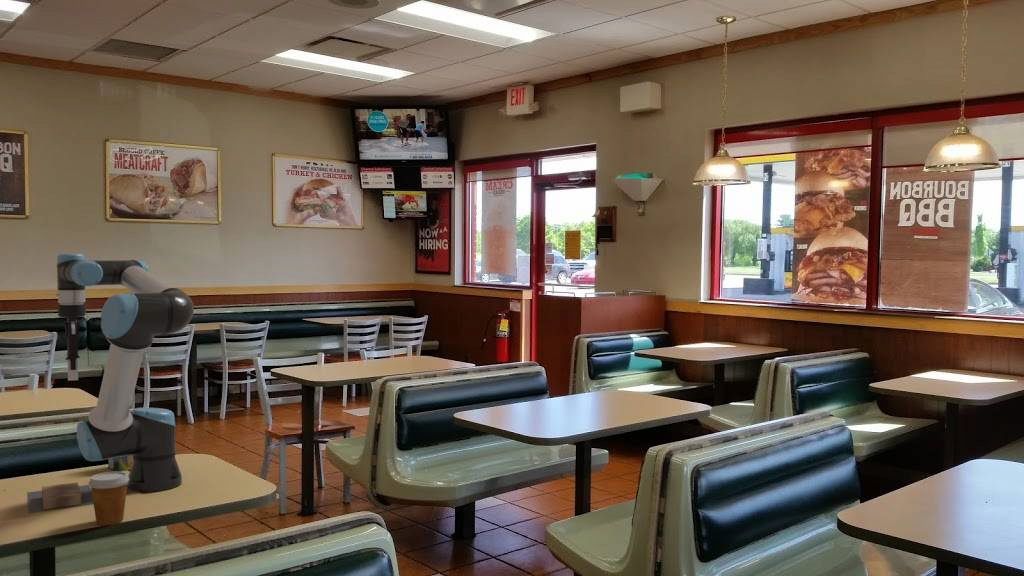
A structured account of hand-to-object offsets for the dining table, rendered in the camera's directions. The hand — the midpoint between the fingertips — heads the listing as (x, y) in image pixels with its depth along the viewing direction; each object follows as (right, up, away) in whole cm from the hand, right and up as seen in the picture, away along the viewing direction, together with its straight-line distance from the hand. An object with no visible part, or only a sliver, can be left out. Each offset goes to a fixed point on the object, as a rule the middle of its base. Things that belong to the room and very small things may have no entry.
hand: (73, 379), depth 258 cm
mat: (+8, -31, -22) cm, 39 cm away
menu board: (+6, -29, -19) cm, 35 cm away
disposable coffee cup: (+31, -33, -41) cm, 61 cm away
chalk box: (+11, -30, +13) cm, 35 cm away
